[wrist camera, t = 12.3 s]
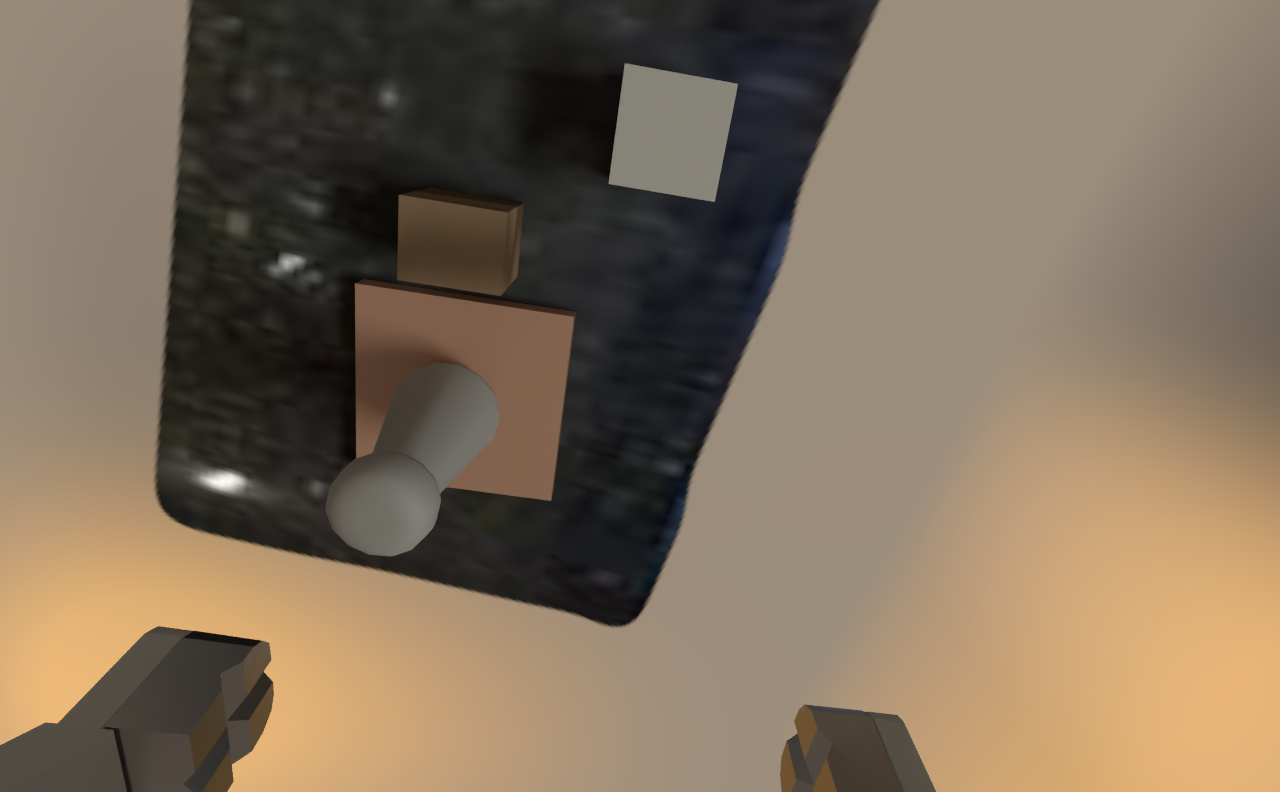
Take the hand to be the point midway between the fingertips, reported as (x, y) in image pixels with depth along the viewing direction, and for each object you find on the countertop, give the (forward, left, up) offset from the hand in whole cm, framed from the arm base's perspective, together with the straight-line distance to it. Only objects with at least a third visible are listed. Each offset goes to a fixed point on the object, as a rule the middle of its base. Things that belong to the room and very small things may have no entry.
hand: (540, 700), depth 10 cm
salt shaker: (+7, -8, -27) cm, 29 cm away
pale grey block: (-9, +2, -28) cm, 30 cm away
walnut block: (-2, -8, -28) cm, 29 cm away
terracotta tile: (+7, -8, -28) cm, 30 cm away
